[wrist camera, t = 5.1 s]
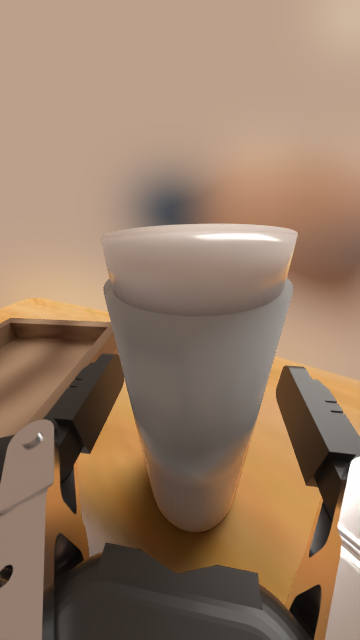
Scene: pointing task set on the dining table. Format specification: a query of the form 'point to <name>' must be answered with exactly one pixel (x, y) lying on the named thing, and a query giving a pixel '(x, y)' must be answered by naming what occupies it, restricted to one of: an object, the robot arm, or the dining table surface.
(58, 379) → the tray
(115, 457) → the dining table surface
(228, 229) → the salt shaker
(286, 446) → the dining table surface
